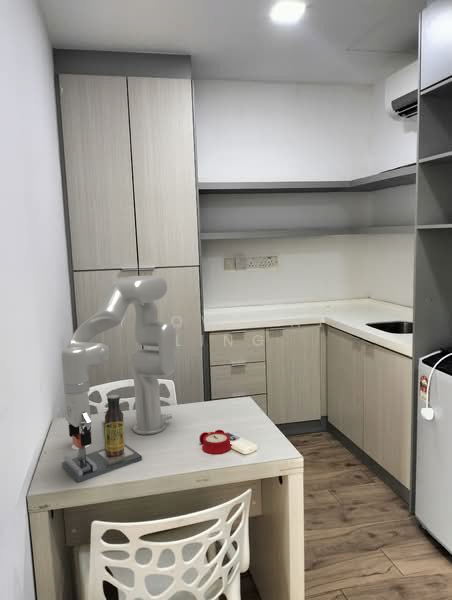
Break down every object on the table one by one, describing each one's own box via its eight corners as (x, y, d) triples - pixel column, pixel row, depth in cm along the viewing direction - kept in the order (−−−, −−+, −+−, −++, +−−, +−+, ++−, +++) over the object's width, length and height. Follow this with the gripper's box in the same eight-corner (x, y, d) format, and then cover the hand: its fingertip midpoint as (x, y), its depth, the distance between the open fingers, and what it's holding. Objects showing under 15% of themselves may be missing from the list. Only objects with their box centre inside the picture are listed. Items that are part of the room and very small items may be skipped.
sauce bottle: (106, 458, 155) (101, 400, 153) (105, 450, 161) (101, 394, 159) (126, 455, 157) (122, 398, 154) (125, 447, 163) (121, 392, 160)
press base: (123, 446, 168) (121, 415, 167) (142, 460, 157) (139, 427, 156) (62, 466, 155) (59, 433, 153) (78, 482, 144) (75, 447, 142)
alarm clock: (207, 448, 156) (195, 423, 170) (207, 463, 158) (195, 437, 172) (236, 442, 160) (222, 418, 173) (236, 458, 162) (221, 432, 175)
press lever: (86, 464, 152) (84, 431, 151) (92, 469, 148) (90, 435, 147) (74, 468, 150) (71, 434, 148) (80, 473, 146) (77, 439, 144)
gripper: (55, 384, 150) (59, 435, 152) (74, 396, 136) (78, 452, 138) (78, 379, 155) (81, 429, 156) (99, 390, 141) (102, 445, 143)
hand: (80, 440), depth 147 cm, fingers open, 9 cm apart
